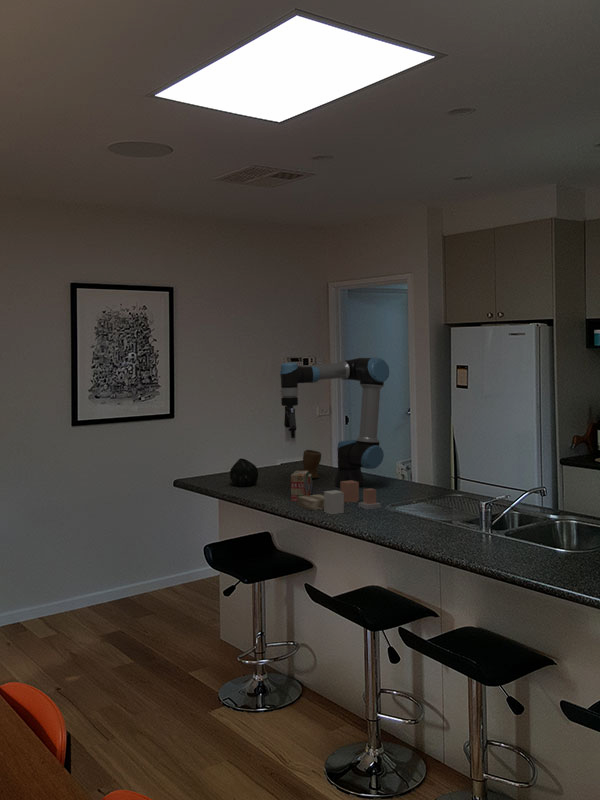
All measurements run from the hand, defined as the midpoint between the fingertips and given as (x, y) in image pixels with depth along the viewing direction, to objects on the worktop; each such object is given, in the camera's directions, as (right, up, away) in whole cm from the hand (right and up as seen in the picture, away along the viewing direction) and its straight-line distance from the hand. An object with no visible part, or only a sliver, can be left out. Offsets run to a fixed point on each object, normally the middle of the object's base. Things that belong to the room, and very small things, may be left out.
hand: (290, 443), depth 346 cm
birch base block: (+11, -27, -13) cm, 32 cm away
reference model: (+35, -27, -16) cm, 47 cm away
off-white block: (+19, -28, -26) cm, 43 cm away
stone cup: (+9, -22, +64) cm, 68 cm away
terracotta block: (+27, -26, -2) cm, 38 cm away
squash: (-24, -24, +41) cm, 54 cm away
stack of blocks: (+5, -26, +10) cm, 28 cm away
